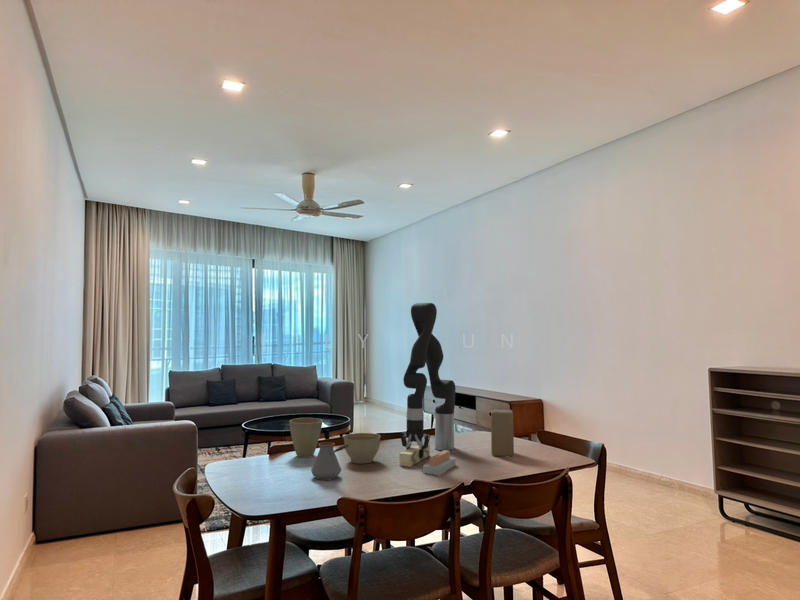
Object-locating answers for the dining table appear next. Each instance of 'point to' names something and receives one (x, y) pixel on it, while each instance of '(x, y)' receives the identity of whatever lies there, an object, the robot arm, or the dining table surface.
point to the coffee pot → (327, 462)
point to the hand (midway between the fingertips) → (414, 457)
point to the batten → (413, 455)
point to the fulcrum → (439, 463)
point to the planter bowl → (362, 446)
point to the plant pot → (305, 435)
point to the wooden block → (502, 433)
